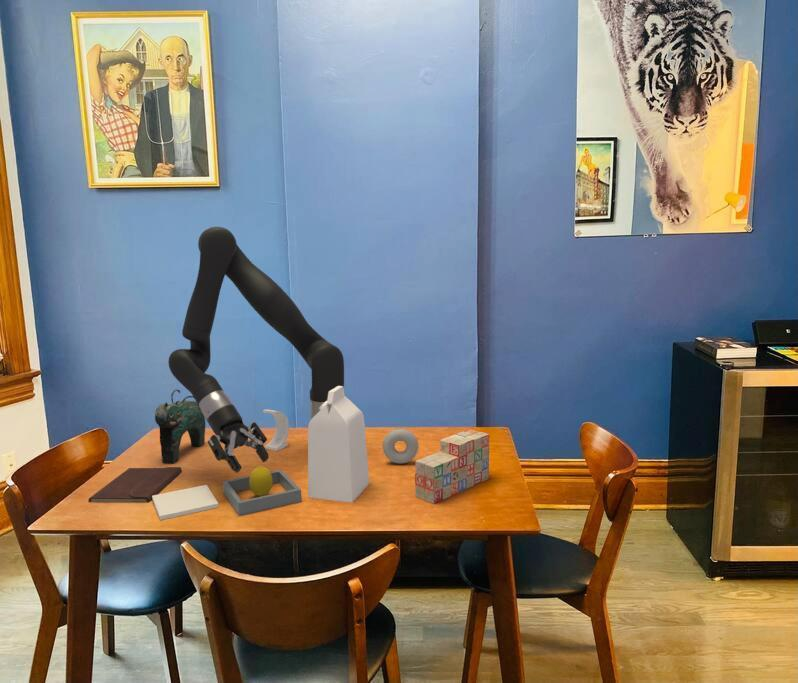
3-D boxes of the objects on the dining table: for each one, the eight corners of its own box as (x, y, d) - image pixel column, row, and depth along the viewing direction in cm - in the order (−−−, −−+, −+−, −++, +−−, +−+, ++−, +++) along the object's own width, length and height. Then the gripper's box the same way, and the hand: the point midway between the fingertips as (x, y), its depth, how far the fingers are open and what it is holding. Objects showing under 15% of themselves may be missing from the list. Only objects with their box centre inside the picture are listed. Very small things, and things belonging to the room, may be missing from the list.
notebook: (88, 504, 148) (87, 496, 148) (128, 473, 168) (128, 466, 167) (149, 504, 147) (148, 496, 147) (182, 473, 167) (181, 466, 167)
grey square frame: (281, 480, 159) (281, 469, 159) (301, 501, 146) (301, 489, 146) (223, 492, 152) (222, 481, 152) (239, 515, 139) (238, 503, 139)
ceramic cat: (172, 466, 171) (167, 397, 168) (152, 464, 172) (146, 396, 169) (210, 443, 190) (206, 380, 187) (192, 442, 192) (187, 380, 188)
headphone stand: (265, 448, 184) (262, 410, 183) (278, 442, 190) (276, 405, 188) (276, 451, 182) (274, 411, 180) (290, 445, 187) (288, 407, 185)
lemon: (267, 502, 146) (266, 470, 145) (246, 501, 147) (244, 469, 146) (276, 493, 151) (275, 462, 150) (256, 491, 153) (254, 461, 151)
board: (206, 488, 155) (206, 484, 155) (218, 507, 144) (218, 503, 144) (152, 499, 149) (151, 495, 149) (160, 520, 138) (159, 516, 138)
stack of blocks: (434, 504, 144) (433, 454, 142) (414, 497, 148) (414, 448, 146) (489, 479, 159) (489, 433, 156) (470, 472, 163) (470, 428, 161)
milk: (352, 502, 145) (349, 396, 141) (308, 497, 149) (303, 393, 144) (369, 483, 157) (366, 384, 152) (327, 479, 160) (324, 382, 156)
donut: (382, 465, 169) (381, 430, 167) (383, 461, 172) (382, 427, 170) (418, 465, 168) (418, 430, 167) (418, 461, 172) (418, 426, 170)
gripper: (202, 410, 147) (236, 465, 142) (248, 398, 158) (281, 448, 153) (190, 428, 151) (222, 482, 146) (236, 414, 162) (268, 464, 157)
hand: (253, 465), depth 149 cm, fingers open, 8 cm apart
